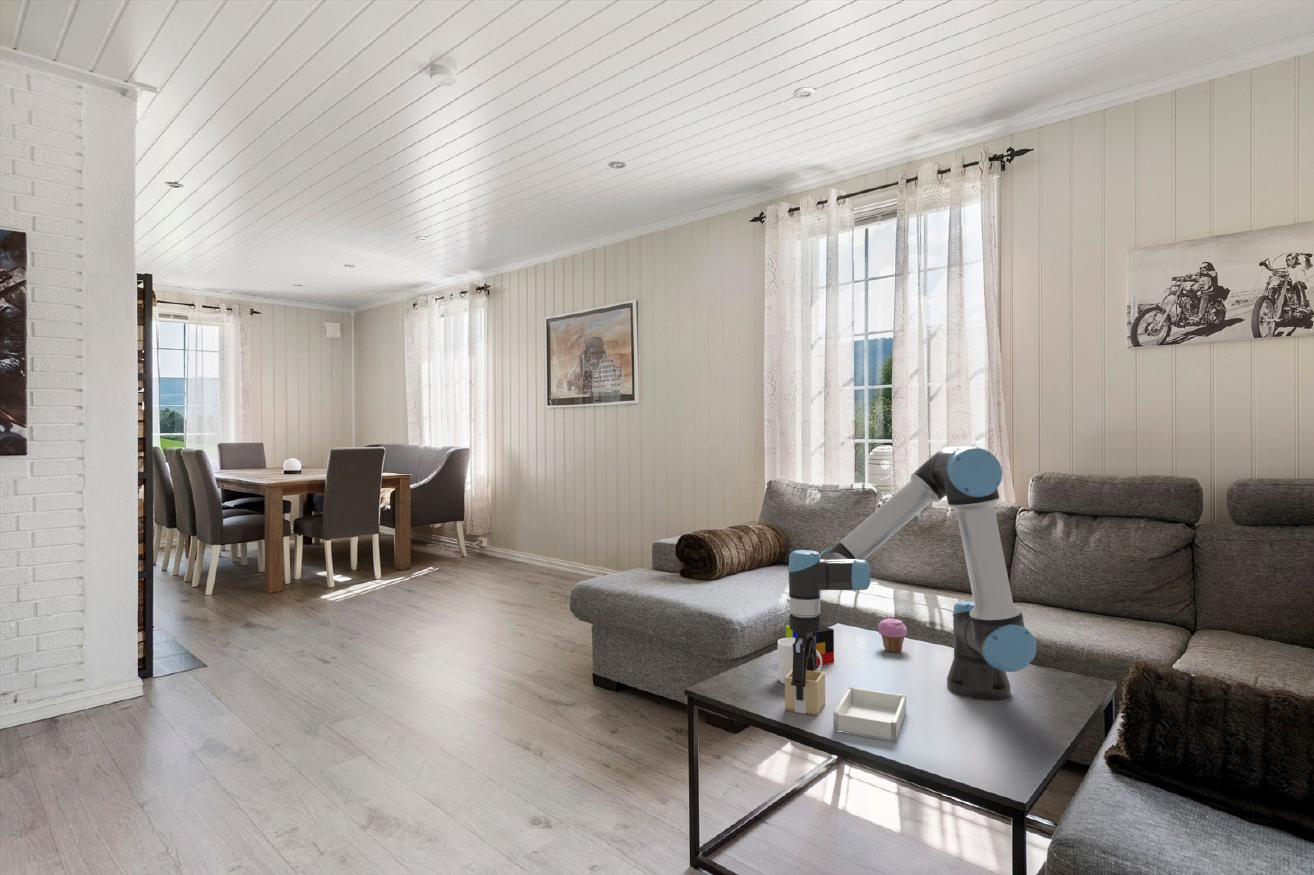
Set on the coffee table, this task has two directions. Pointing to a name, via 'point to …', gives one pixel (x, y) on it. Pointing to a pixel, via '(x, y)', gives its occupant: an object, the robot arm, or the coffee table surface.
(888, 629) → the cupcake
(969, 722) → the coffee table surface
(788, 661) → the mug
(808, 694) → the small crate
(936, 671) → the coffee table surface
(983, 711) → the coffee table surface
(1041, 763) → the coffee table surface
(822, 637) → the puzzle toy
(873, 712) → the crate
